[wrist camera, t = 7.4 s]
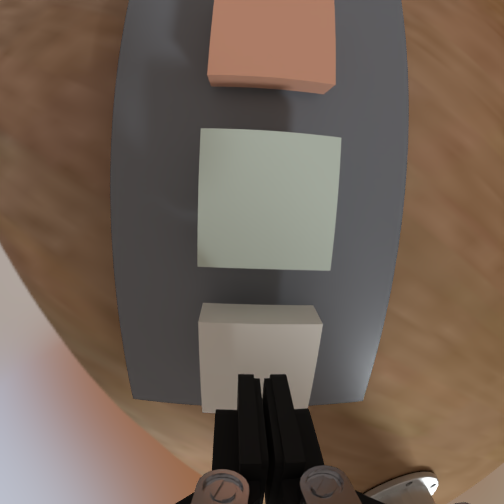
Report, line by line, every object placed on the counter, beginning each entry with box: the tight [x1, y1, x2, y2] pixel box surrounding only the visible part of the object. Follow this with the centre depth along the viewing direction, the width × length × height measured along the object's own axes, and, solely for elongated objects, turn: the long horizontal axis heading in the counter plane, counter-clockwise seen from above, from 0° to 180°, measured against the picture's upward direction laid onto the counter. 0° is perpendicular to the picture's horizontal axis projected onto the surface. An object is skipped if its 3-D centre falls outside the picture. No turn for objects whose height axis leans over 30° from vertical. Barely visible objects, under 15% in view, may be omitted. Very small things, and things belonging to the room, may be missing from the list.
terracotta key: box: [207, 0, 336, 94], centre depth 11 cm, size 5×5×2 cm
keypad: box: [110, 0, 409, 406], centre depth 15 cm, size 24×14×3 cm, turn 177°
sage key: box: [197, 128, 341, 271], centre depth 12 cm, size 5×5×2 cm
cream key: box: [198, 303, 323, 413], centre depth 13 cm, size 5×5×2 cm
